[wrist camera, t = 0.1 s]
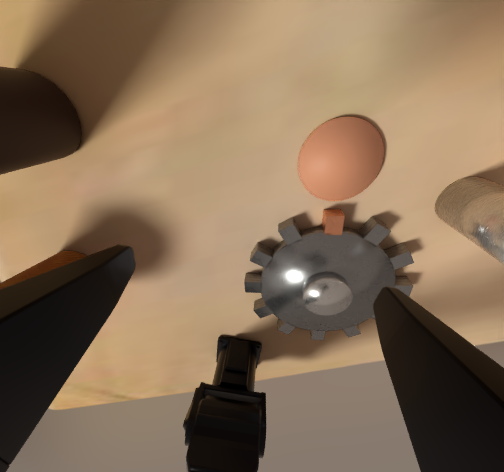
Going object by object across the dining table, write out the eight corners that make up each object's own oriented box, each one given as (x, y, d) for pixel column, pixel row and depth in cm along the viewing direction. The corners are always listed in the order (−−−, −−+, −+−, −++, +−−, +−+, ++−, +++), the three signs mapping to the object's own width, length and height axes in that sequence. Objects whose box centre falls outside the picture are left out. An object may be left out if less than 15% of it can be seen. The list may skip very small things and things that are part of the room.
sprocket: (355, 342, 32) (362, 364, 29) (231, 310, 31) (227, 329, 28) (446, 238, 22) (467, 256, 20) (273, 187, 21) (272, 198, 19)
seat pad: (364, 204, 21) (365, 206, 21) (290, 194, 22) (290, 195, 21) (397, 123, 18) (399, 123, 18) (309, 110, 18) (309, 110, 18)
